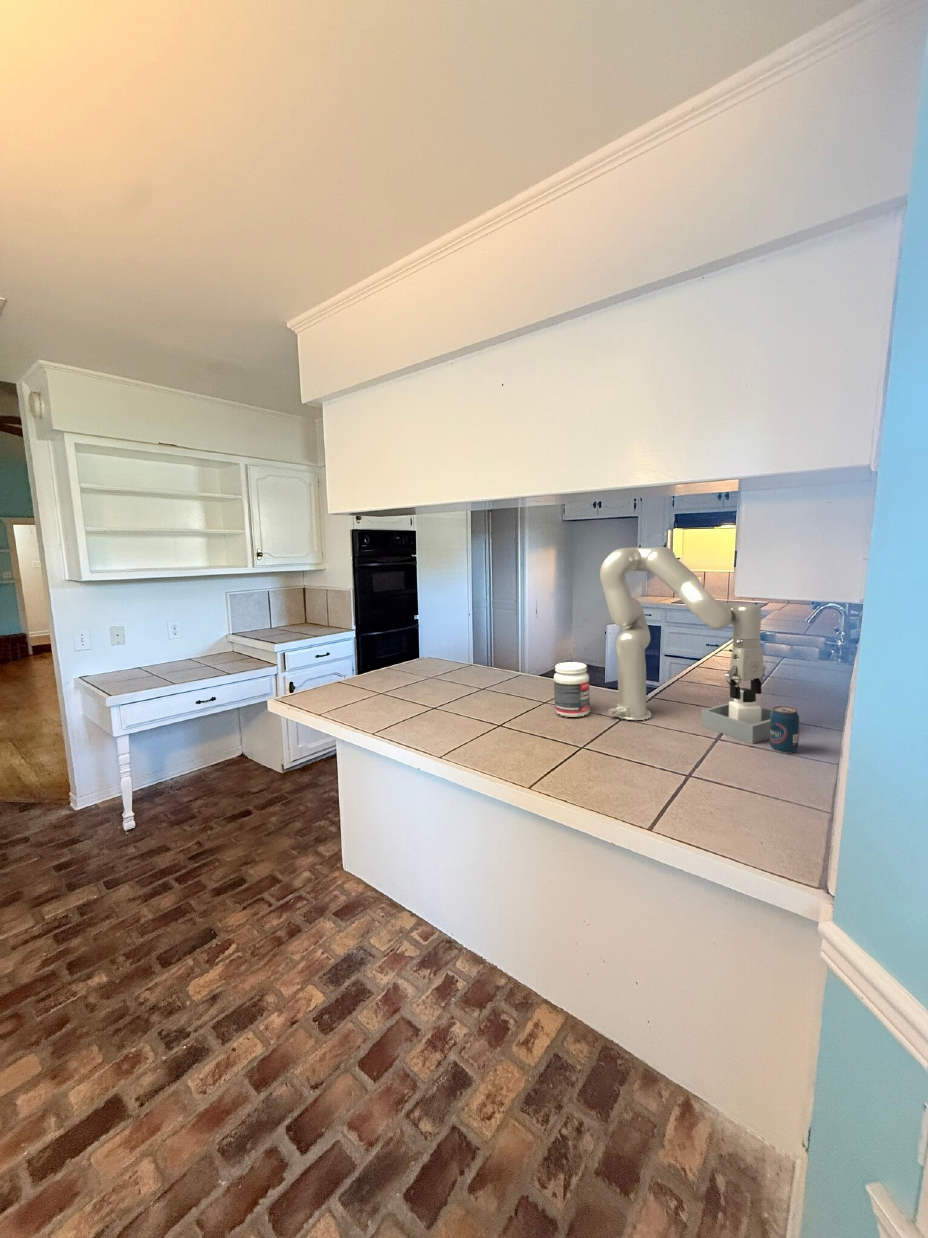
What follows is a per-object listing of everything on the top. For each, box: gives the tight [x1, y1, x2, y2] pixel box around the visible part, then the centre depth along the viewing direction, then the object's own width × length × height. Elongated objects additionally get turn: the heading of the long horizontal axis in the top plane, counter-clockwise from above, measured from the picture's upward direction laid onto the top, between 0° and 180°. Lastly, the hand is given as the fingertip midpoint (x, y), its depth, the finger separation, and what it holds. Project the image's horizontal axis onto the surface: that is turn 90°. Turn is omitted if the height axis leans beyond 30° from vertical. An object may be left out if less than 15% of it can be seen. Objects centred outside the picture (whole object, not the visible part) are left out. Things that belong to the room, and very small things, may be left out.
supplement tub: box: [553, 661, 591, 717], centre depth 182 cm, size 13×13×18 cm
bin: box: [700, 702, 773, 745], centre depth 158 cm, size 18×18×6 cm
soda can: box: [769, 705, 800, 754], centre depth 141 cm, size 7×7×12 cm
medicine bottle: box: [728, 687, 762, 724], centre depth 158 cm, size 7×7×12 cm
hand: (745, 695), depth 157 cm, fingers open, 9 cm apart
